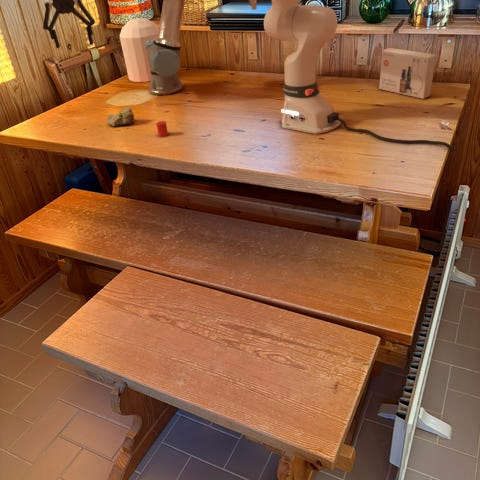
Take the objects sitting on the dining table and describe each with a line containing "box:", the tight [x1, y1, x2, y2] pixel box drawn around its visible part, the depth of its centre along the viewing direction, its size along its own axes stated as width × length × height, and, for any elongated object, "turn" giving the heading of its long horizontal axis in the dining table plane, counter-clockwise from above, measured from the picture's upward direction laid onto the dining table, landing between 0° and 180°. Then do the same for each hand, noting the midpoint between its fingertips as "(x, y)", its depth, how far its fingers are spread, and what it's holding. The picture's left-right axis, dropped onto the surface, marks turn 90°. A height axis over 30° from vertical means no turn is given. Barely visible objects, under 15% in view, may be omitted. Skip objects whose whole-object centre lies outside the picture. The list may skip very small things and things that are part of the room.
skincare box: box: [378, 47, 437, 100], centre depth 184 cm, size 21×6×16 cm, turn 40°
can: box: [156, 120, 169, 138], centre depth 172 cm, size 4×4×5 cm
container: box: [119, 17, 159, 83], centre depth 235 cm, size 21×21×28 cm
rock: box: [107, 106, 135, 127], centre depth 186 cm, size 11×6×10 cm
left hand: (75, 45), depth 187 cm, fingers open, 13 cm apart
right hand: (253, 7), depth 187 cm, fingers open, 8 cm apart
